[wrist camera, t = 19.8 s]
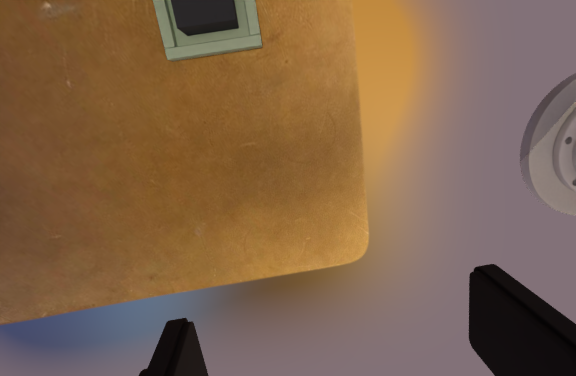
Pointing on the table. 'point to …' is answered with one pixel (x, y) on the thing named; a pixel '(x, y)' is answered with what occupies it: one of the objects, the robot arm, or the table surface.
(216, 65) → the table surface
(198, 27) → the loose pad
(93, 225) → the table surface
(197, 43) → the pad frame
